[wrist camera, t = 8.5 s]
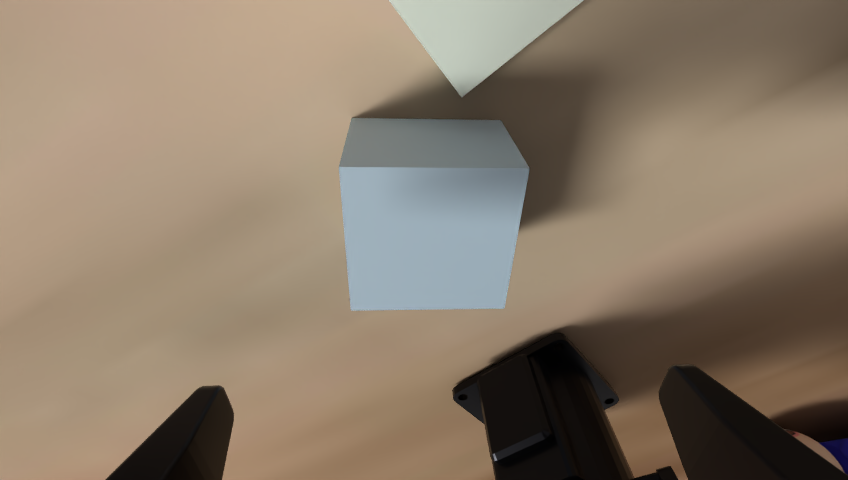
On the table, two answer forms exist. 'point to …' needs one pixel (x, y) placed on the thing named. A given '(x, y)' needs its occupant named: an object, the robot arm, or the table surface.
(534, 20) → the baseplate
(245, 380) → the table surface
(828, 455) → the figurine character
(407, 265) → the blue brick
